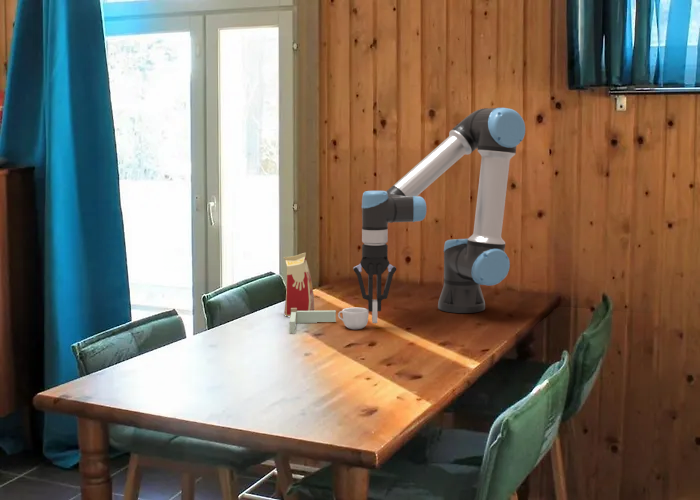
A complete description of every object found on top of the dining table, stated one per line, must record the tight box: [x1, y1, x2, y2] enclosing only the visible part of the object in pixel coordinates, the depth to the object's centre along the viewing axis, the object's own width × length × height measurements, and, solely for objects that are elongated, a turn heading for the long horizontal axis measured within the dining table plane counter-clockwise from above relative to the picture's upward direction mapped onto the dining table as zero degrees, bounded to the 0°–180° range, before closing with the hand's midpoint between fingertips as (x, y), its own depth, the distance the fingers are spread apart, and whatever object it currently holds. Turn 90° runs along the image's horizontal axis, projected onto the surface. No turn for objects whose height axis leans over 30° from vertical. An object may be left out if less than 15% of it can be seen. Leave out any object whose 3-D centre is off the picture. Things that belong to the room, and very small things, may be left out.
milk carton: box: [282, 252, 316, 317], centre depth 283 cm, size 9×9×20 cm
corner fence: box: [289, 308, 337, 334], centre depth 266 cm, size 14×15×4 cm
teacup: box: [337, 306, 370, 330], centre depth 266 cm, size 10×8×5 cm
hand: (374, 322), depth 266 cm, fingers closed
